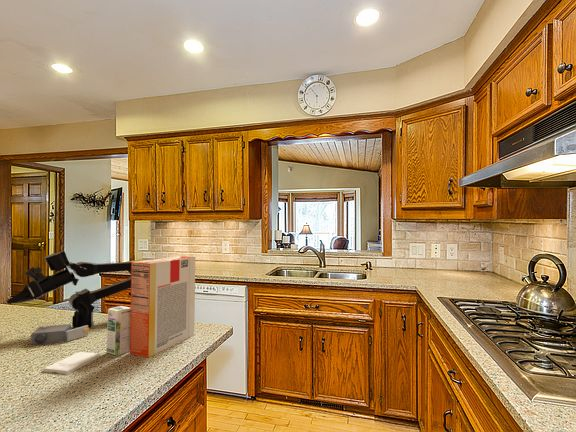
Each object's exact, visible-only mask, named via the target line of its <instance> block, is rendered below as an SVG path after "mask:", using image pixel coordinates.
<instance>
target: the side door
mask: <svg viewBox="0 0 576 432" xmlns="http://www.w3.org/2000/svg"><path fill="white" fill-rule="evenodd" d="M89 332H90V328H88V325H86V326H82V327H79V328H75V329H72V328H71V330H68V331H64V342H63V343H67V342H69V341H73V340H76V339H79V338H82V337H86V336H88V335H89Z"/></svg>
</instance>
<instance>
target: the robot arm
mask: <svg viewBox="0 0 576 432" xmlns="http://www.w3.org/2000/svg"><path fill="white" fill-rule="evenodd" d="M44 260H45V263H46V264H47V265H48V268H49V270H50V271H54V273H53V274H51V275H49V274H48V275H46V276H45V274H43V273H42V270H43V269H42V268H40V267H34V266H32V267H30V268H29V269H27V270H26V271H25V272H24V275H26V276H27V277H29V278H30V279H32V281H29V282H27V284H25V285H24V287H23V289H22V290H21V291H20V292H18V293H17V294H15V295H13V296H12V297H11V298H8V299H7V300H6V302H7V304H9V305H11V304H18V303H25V302H31V301H36V300H38V299H40V298H41V297H43V296H45V295H46V294H49V293H50V292H52V291H56V290H57V289H60V288H61V287H63V286H65V285H68V284H70V283H71V284H72V285H74V287H75V286H77V284H78V283H79V280H80V279H79V278H77V277H76V276H78V277H80V278H87V277H91V276H95V275H97V274H102V273H104V274H105V273H115V272H117V273H118V272H128V273H129V274H130V276H129V277H127V278H126V279H124V280H121V281H118V282H115V283H112V284H110V285H106V286H104V287H100V288H97V289H94V290H89V289H88V288H84V289H82V290H80V291H75V292H74V293H73V294H72V295H71V296H70V297H69V299H68V303H69V306H70V307H72V308H73V309H74V310H75V311H74V312H73V316H72V320H71V321H72V324H71V330H72V329H75V328H79V327H82V326H86V325H88V328H89V329H90V328H92V327H93V325H94V324H95V322H94V309H95V306H94V305H93V304H94V303H95V302H97V301H99V300H101V299H105V298H106V297H109V296H112V295H114V294H118V293H121V292H123V291H126V290H128V289H131V262H132V261H124V262H123V261H122V262H108V263H96V262H90V261H89V262H87V261H79V262H76V263H74V262H70V261H69V259H68V257H67V254H66V252H65V250H61V251H59V252H58V251H57V252H55V253H51V254H48V255H46V256H45V257H44ZM69 269H70V270H72V271H73V272H72V271H70V270H69ZM75 275H76V276H75Z"/></svg>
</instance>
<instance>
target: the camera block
mask: <svg viewBox="0 0 576 432" xmlns="http://www.w3.org/2000/svg"><path fill="white" fill-rule="evenodd" d="M68 330H72V324H70V323H69V324H59V325H58V324H57V325H56V324H55V325H41V326H39V327H38V328H36V329H35V330H34V331H32V332H30V333H31V334H30V346H36V345H44V344H55V343H56V344H58V343H65V342H64V331H68Z"/></svg>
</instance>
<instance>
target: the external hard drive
mask: <svg viewBox="0 0 576 432" xmlns="http://www.w3.org/2000/svg"><path fill="white" fill-rule="evenodd" d="M100 357H101V354H100V353H97V352H86V351H85V352H83V351H77V352H76V353H73V354H71V355H69V356H67V357H64V358H63V359H61V360H59V361H57V362H55V363H53V364H51V365H47V366H46V367H44V368H42V372H45V373H57V374H61V375H68V374H70V373H72V372H74V371H76V370H78V369H80V368H81V367H83V366H85V365H87V364H89V363H91V362H93V361H95V360H96V359H99V358H100Z"/></svg>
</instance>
